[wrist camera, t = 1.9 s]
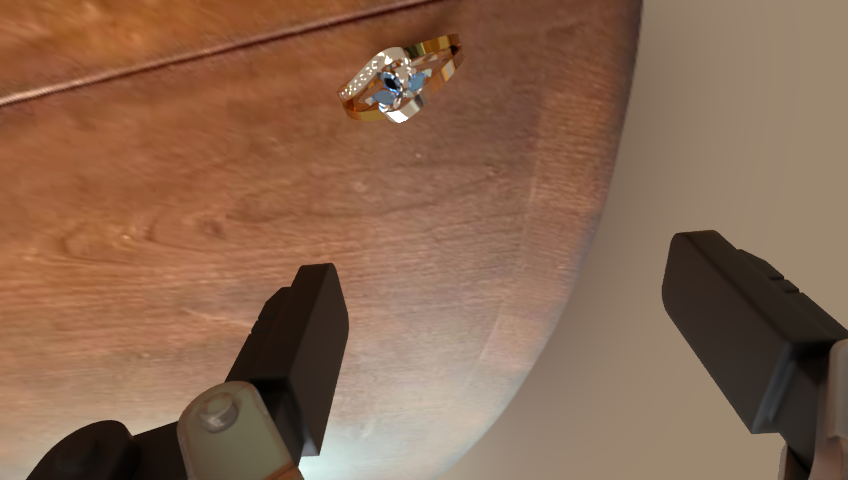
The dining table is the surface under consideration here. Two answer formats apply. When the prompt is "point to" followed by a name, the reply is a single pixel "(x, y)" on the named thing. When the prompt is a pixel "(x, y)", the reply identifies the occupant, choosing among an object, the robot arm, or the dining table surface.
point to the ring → (401, 80)
